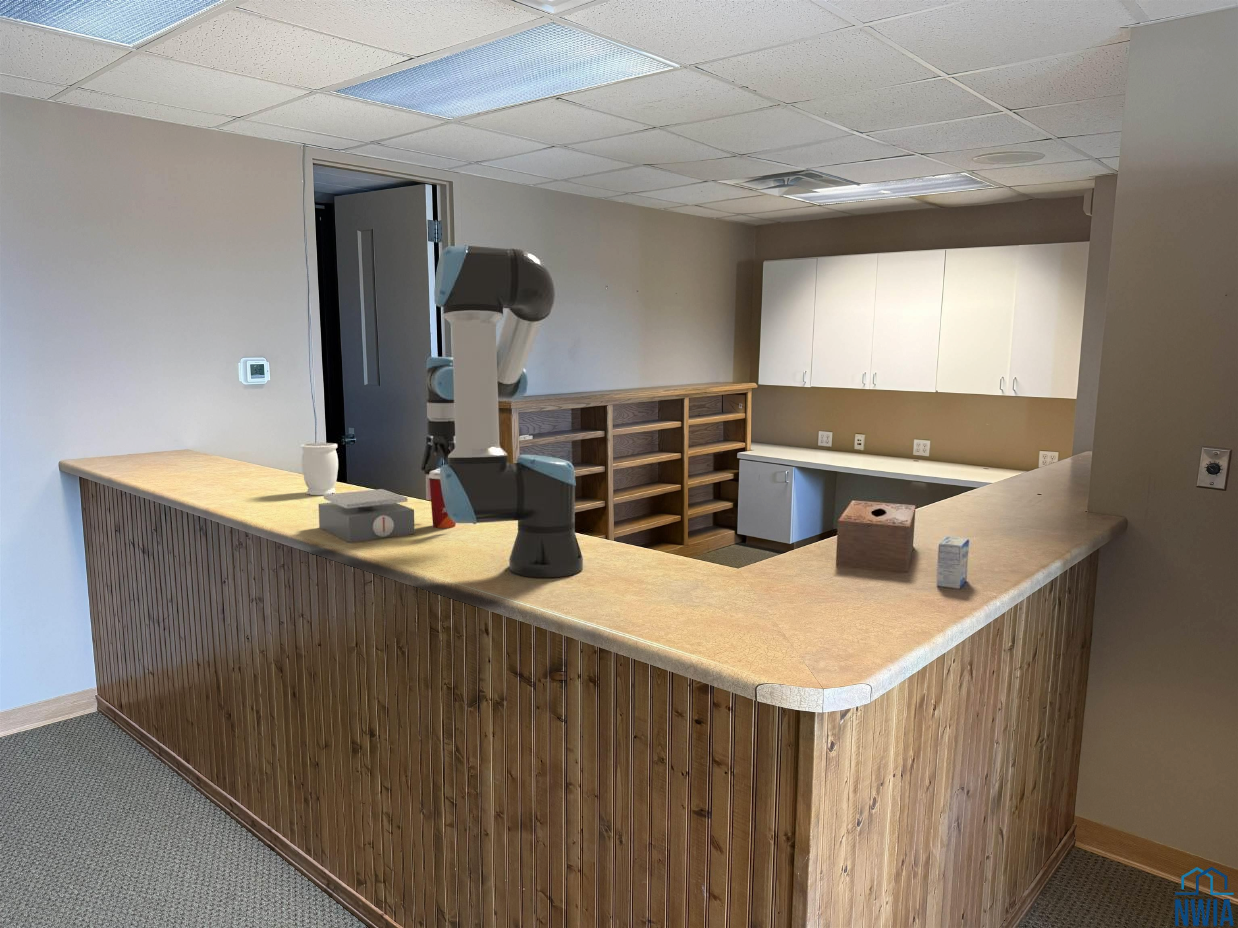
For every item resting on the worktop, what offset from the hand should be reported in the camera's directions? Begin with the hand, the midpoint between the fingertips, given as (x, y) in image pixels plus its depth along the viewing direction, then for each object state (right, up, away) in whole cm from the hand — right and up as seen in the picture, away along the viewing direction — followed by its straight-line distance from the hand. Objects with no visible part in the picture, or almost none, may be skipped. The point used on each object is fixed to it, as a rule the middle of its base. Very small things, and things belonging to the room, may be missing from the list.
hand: (444, 503), depth 211 cm
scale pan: (-18, 0, -7) cm, 19 cm away
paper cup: (0, -6, +1) cm, 6 cm away
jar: (-47, +1, +44) cm, 64 cm away
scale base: (-18, -6, -6) cm, 20 cm away
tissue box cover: (+102, -11, -23) cm, 105 cm away
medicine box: (+110, -14, -45) cm, 120 cm away
